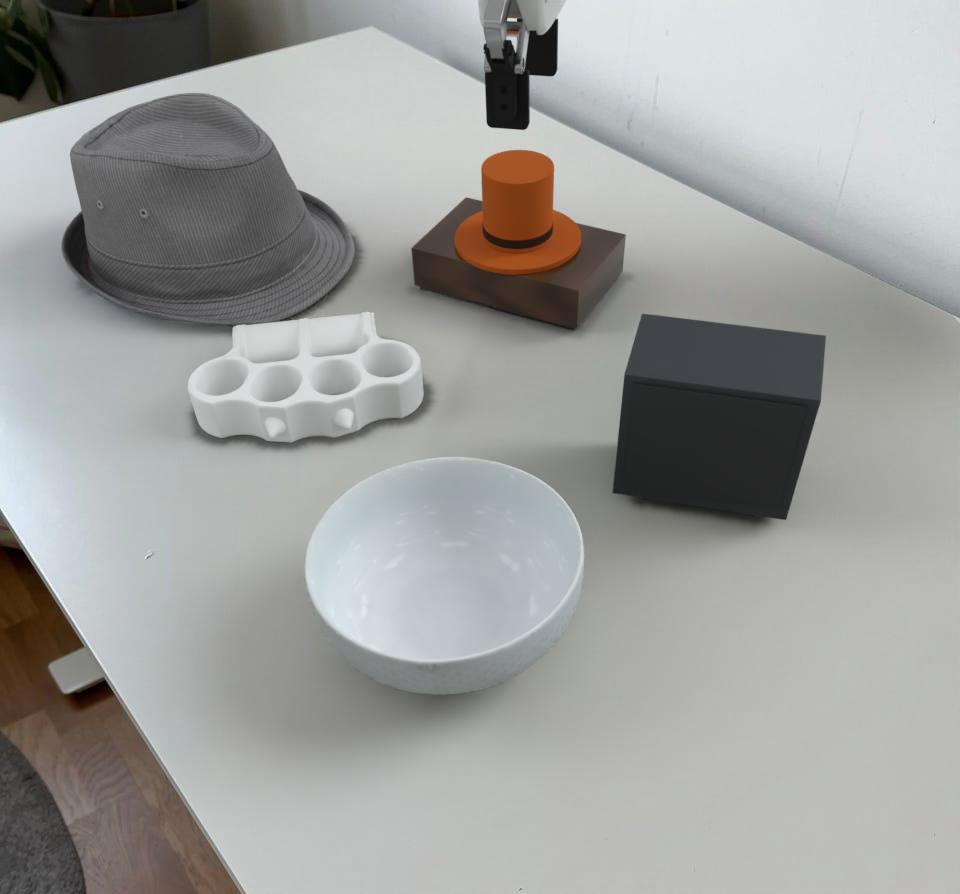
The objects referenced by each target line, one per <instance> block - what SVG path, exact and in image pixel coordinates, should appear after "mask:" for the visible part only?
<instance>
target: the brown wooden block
mask: <svg viewBox="0 0 960 894" xmlns="http://www.w3.org/2000/svg"><path fill="white" fill-rule="evenodd" d="M481 211H483V210H482V200H479V199H476V198H471V197H467V196H466V197H465V198H463V199H462V200H461V201H460V202H459V203H458V204H457V205H456V206H455V207H453V209H452V210H450V211H449V212H448V213H447V214H446V215H444V217H443V218H442V219H441V220H440V221H439V222H437V224H435V226H434V227H432V228H431V229H430V230H429V231H428V232H426V234H425V235H424V236H422V237H421V239H420V240H418V241H417V242H416V243H415V244H414V245H413V246H412V247H411V258H412V270H413V280H414V281H413V283H414V286H416V287H419V288H420V289H422V290H426V291H430V292H434V293H437V294H441V295H445V296H448V297H451V298H455V299H459V300H463V301H467V302H471V303H474V304H478V305H482V306H486V307H489V308H492V309H496V310H500V311H504V312H507V313H512V314H515V315H518V316H523V317H526V318H529V319H534V320H537V321H541V322H544V323H547V324H548V323H549V324H552V325H555V326H559V327H563V328H566V329H571V330H578V328H579V327H580V325H581V324H582V323H583V322H584V320H586V318H587V317H588V316H589V315H590V313H591V312H592V311H593V310H594V309H595V307H596V306H597V305H598V303H599V302H600V301H601V300H602V298H603V297H604V296H605V294H607V292H608V291H609V290H610V288H611V287H612V286H613V285H614V284H615V282H616V280H617V279H619V277H620V276H621V274H622V273H623V270H624V262H625V261H624V259H625V250H626V237H627V234H626V233H621V232H617V231H614V230H613V231H612V230H609V229H605V228H600V227H595V226H592V225H588V224H584V223H583V224H582V223H578V222H575V223H576V224H577V226H578V227H579V229H580V232H581V244H580V247H579V250H578V251H577V253H576V254H575V255H574V256H573V257H572V258H571V259H570V260H568V261H567V262H566V263H564V264H562V265H560V266H558V267H555V268H553V269H550V270H547V271H543V272H538V273H532V274H518V275H512V274H501V273H494V272H490V271H486V270H483V269H480V268H477V267H475V266H473V265H471V264H469V263H468V262H467V261H465V260H464V259H463V258H462V257H461V256H460V255H459V253H458V252H457V250H456V247H455V233H456V231H457V229H458V227H459V226H460V225H461V223H462V222H464V221H465V220H466V219H467V218H469V217H470V216H472V215H474V214H476V213H478V212H481Z"/></svg>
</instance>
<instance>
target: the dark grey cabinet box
mask: <svg viewBox="0 0 960 894" xmlns="http://www.w3.org/2000/svg"><path fill="white" fill-rule="evenodd" d="M826 343H827V335H823V334H814V333H808V332H807V333H806V332H800V331H799V332H798V331H789V330H782V329H774V328H766V327H757V326H749V325H740V324H734V323H733V324H732V323H724V322H716V321H707V320H702V319H701V320H700V319H693V318H684V317H683V318H682V317H676V316H668V315H667V316H666V315H659V314H658V315H657V314H650V313H649V314H648V313H641V316H640V319H639V322H638V326H637V330H636V332H635V337H634V339H633V343H632V346H631V350H630V354H629V357H628V361H627V364H626V369H625V371H624V376H623V384H622V394H621V403H620V415H619V425H618V433H617V444H616V453H615V466H614V475H613V483H612V494H615V495H616V494H617V495H621V496H627V497H636V498H641V499H642V500H647V501H653V502H661V503H668V504H674V505H679V506H680V505H681V506H687V507H694V508H700V509H706V510H711V511H719V512H726V513H730V514H739V515H744V516H750V517H755V516H756V517H762V518H763V517H764V518H768V519H776V520H783V521H787V519H788V515H789V512H790V508H791V505H792V502H793V498H794V495H795V491H796V488H797V484H798V481H799V479H800V474H801V470H802V467H803V464H804V460H805V457H806V454H807V451H808V450H807V449H808V446H809V443H810V440H811V437H812V432H813V429H814V426H815V424H816V423H815V422H816V419H817V415H818V412H819V409H820V405H821V402H822V391H823V380H824V366H825V355H826Z"/></svg>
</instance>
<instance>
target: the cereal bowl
mask: <svg viewBox="0 0 960 894" xmlns="http://www.w3.org/2000/svg"><path fill="white" fill-rule="evenodd" d="M584 545H585V544H584V537H583V533H582V530H581V527H580V524H579V522H578V519H577V518H576V515H575V513H574V512H573V511H572V509H571V507H570V505H569V504H568V503H567V502H566V500H565V499H564V498H563V497H562V495H560V494H559V492H557V490H555V489H554V488H553V487H551V485H549V484H547V483H546V482H545V481H543V480H542V479H540V478H538V477H537V476H535V475H532V474H531V473H529V472H527V471H526V470H523V469H520V468H517V467H514V466H512V465H510V464H505V463H502V462H498V461H495V460H494V461H493V460H489V459H483V458H476V457H475V458H474V457H466V456H440V457H432V458H425V459H419V460H413V461H408V462H405V463H402V464H398V465H395V466H392V467H389V468H386V469H384V470H381V471H379V472H377V473H375V474H372V475H370V476H368V477H366V478H364V479H363V480H361V481H359V482H358V483H356V484H355V485H353V486H352V487H350V488H349V489H348V490H346V491H345V492H343V494H341V495H340V496H339V497H338V498H337V499H336V500H335V501H334V502H333V503H332V504H331V505H330V506H329V507H328V508H327V509H326V510H325V512H324V513H323V514H322V516H321V517H320V518H319V520H318V521H317V523H316V524H315V526H314V528H313V530H312V533H311V535H310V536H309V540H308V543H307V546H306V550H305V555H304V563H303V574H304V575H303V577H304V583H305V590H306V594H307V597H308V599H309V600H308V601H309V604H310V606H311V608H312V611H313V615H314V617H315V619H316V621H317V624H318V626H319V627H320V629H321V630H322V632H323V634H324V636H325V637H326V639H327V640H328V642H329V644H330V645H331V646H332V647H333V648H334V650H336V652H338V655H340V656H341V657H342V658H343V659H344V660H345V661H346V662H347V663H348V664H349V665H351V666H353V667H354V668H355V670H357V671H358V672H360V673H362V674H364V675H365V676H366V677H368V678H371V679H373V680H374V681H376V682H378V683H380V684H384V685H386V686H389V687H391V688H393V689H397V690H402V691H404V692H410V693H415V694H423V695H424V694H425V695H439V696H440V695H447V696H448V695H451V694H452V695H457V694H465V693H472V692H474V691H480V690H483V689H487V688H491V687H494V686H495V685H498V684H502V683H504V682H506V681H508V680H510V679H512V678H513V677H516V676H518V675H519V674H521V673H523V672H524V671H526V670H527V669H529V668H530V667H532V665H534V664H536V663H537V662H538V661H539V660H540V659H541V658H543V657H544V656H545V655H546V654H548V652H549V651H550V650H551V649H552V648H553V647H554V646H555V644H556V643H557V642H558V640H559V639H561V637H562V636H563V634H564V632H565V630H567V628H568V626H569V624H570V622H571V619H572V618H573V616H574V614H575V611H576V609H577V606H578V602H579V599H580V597H581V589H582V586H583V581H584V579H583V578H584V575H585V569H584V567H585V564H586V563H585V546H584Z"/></svg>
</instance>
